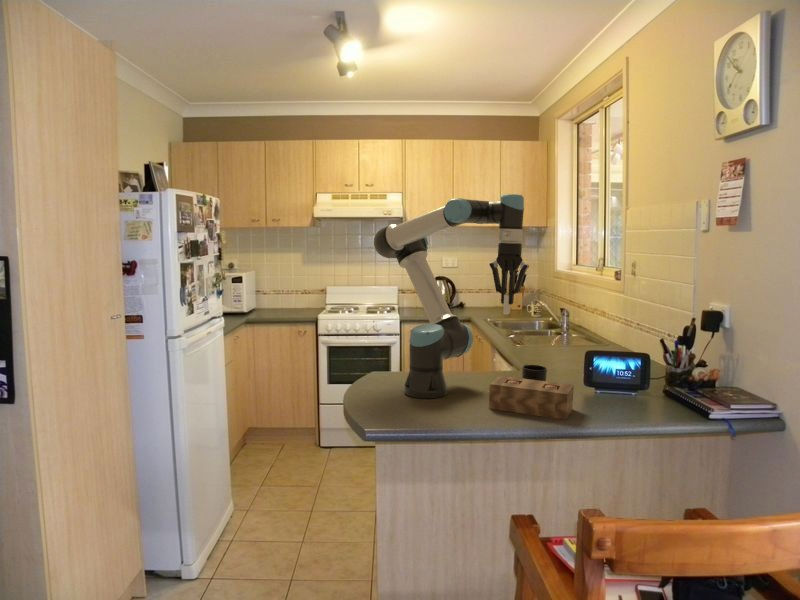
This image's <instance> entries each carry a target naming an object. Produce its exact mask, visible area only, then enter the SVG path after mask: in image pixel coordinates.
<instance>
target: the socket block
mask: <svg viewBox="0 0 800 600" xmlns="http://www.w3.org/2000/svg"><path fill="white" fill-rule="evenodd" d="M508 381H518V382H519V385H516V384H508ZM546 385H553V386H556V387H557V390H555V389H547V388H545V386H546ZM574 386H575V385H574V384H570V383H561V382H554V381H547V380H546V381H539V380H531V379H523V378H519V377H513V376H505V375H499V376H498V377H496V378H495V379H494V380H493V381H492V382H491V383H489V403H488V409H491V410H498V411H503V412H504V411H505V412H509V413H516V414H517V413H518V414H524V415H532V416H537V417H543V418H550V419H557V420H564V421H567V419H568V418H569V416H570V414H571V413H572V411H573V409H574V408H573V407H574V406H573V405H574V403H573V402H574V390H575V389H574Z"/></svg>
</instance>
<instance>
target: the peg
mask: <svg viewBox="0 0 800 600" xmlns="http://www.w3.org/2000/svg"><path fill="white" fill-rule="evenodd" d="M508 384H516V385H519V382H518V381H508Z"/></svg>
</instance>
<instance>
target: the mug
mask: <svg viewBox="0 0 800 600" xmlns="http://www.w3.org/2000/svg"><path fill="white" fill-rule="evenodd" d="M521 368H522V371H521V373H522V374H521V377H522V378H523V379H531V380H539V381H547V374H548V373H547V372H548V370H547V367H545V366H542V365H539V364H538V365H537V364H524V365H523V366H522V367H521Z"/></svg>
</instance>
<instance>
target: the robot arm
mask: <svg viewBox="0 0 800 600" xmlns="http://www.w3.org/2000/svg"><path fill="white" fill-rule="evenodd" d="M524 199H525V198H524V196H523V195H522V194H518V193H517V194H516V193H515V194H513V193H512V194H510V193H506V194H505V193H504V194H502V195H501V196H500V199H499V200H497V201H496V200H478V199H467V198H452V199H450V200H448V201H447V202H446V203H445V205H444V206H441V207H439V208H437V209H434V210H432V211H429V212H426V213H424V214H421V215H419V216H416V217H414V218H412V219H410V220H407V221H404V222H401V223H399V224H394V223H393V224H389V225H388V226H385V227H382V228H380V229H379V230H378V231H377V232H376V233H375V234H374V237H373V247H374V250H375V251H376V252H377V254H378V255H380V256H381V257H383V258H386V259H396V260H397V263H398V265H399V267H401V268H403V269H405V271H406V273H407V275H408V277H409V279H410V282H411V284H412V286H413V288H414V290H415V292H416V295H417V296H418V298H419V301H420V303H421V305H422V308H423V310H424V312H425V314H426V315H425V316H426V317H427V319H428V321H429V323H428V324H420V325H416V326H414V327H413V328H412V329H411V330H410V333H409V341H408V343H409V360H408V362H409V365H408V366H409V369H408V374H407V377H406V380H405V382H404V385H403V392H404V394H405V395H406V396H409V397H412V398H418V399H437V398H442V397H445V396H446V395H448V384H447V381H446V379H445V378H446V377H445V375H444V361H445V360H448V359H453V358H460V357H461V356H464V355H466V354H467V353H469V351H471V348H472V345H473V341H474V337H473V333H472V330H471V328H470V327H469V326H468V325H466V324H464V323H462V322H461V321H460V319H459V316H457V315H456V314H453V312H451V309H450V308H449V306H448V304H447V301H446V299H445V297H444V295H443V293H442V290H441V289H440V286H439V284H438V282H437V279H436V278H435V275H434V273H433V271H432V269H431V267H430V264H429V262H428V260H427V257H428V255H429V254H428V248H429V247H428V245H429V241H428V238H427V237H430V236H433V235H435V234H438V233H441V232H443V231H446V230H449V229H452V228H454V227H457V226H461V225H463V224H476V225H479V224H480V225H486V224H487V225H488V224H489V225H492V224H496V225H499V228H498V230H499V231H498V241H499V243H498V245H497V246H498V249H497V250H498V251H497V257H496V259H495V260H494V261H493V262H490V263H489V267H490V269H491V272H492V277H493V281H494V282H493V283H494V287H495V291H496V292H497V293H500V303H501V304H503V310H502V311H503V312H502V314H503V315H509V314H510V313H511V305H514V302H515V301H514V298H515V294H518V293H520V292H521V288H522V285H523V282H524V278H525V274H526V272H527V270H528V269H529V267H530V265H529V264H527V263H525V262H524V260H523V258H522V248H523V244H522V243H521V242H523V232H524V231H523V230H524V229H523V225H524V210H525V203H524V202H525V200H524ZM498 267H500V269H501V279H500V274H499V269H498ZM519 267H520V268H519ZM518 268H519V269H520V271H519V273H518V278H517V280H516V273H517V270H518ZM508 274H509V275H508ZM508 276H509V278H508ZM507 290H508V291H507Z"/></svg>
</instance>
